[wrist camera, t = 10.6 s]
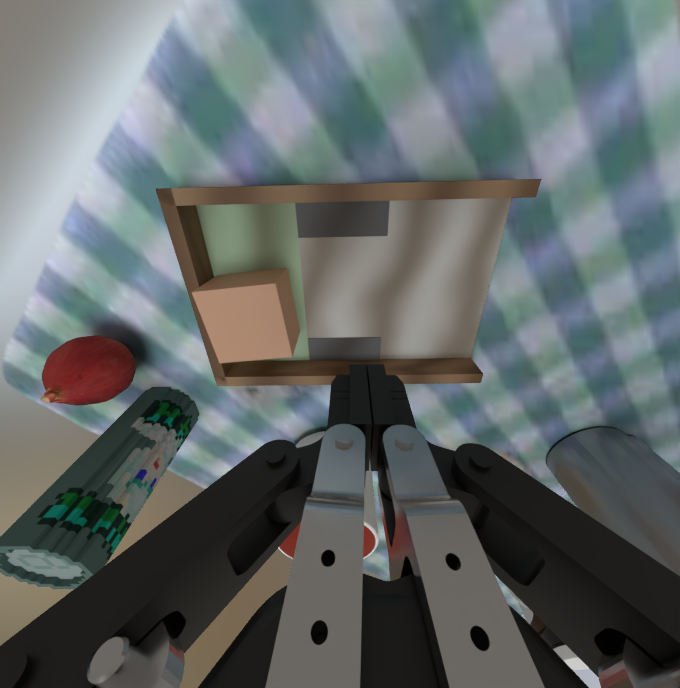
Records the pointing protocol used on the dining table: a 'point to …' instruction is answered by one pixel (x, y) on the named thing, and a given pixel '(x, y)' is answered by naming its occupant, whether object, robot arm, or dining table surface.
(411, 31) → the dining table surface
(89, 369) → the red oval fruit
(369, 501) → the cup
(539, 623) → the spread jar
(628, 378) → the dining table surface
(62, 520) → the can
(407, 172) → the dining table surface
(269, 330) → the block
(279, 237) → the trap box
